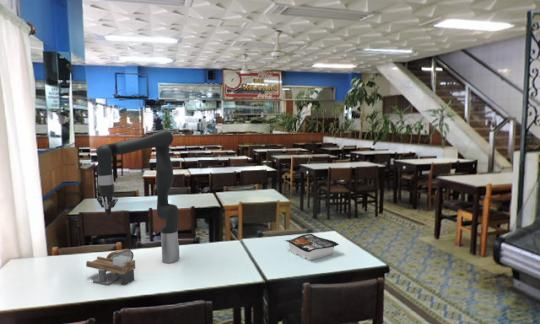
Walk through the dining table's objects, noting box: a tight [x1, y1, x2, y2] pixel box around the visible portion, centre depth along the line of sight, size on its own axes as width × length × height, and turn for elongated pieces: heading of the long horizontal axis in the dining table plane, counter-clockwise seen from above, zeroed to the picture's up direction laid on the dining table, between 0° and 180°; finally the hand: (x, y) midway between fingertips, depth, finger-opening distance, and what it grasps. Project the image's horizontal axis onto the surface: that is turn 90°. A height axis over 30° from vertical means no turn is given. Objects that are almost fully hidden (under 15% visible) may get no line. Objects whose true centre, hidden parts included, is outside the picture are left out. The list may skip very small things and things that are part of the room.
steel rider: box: [113, 255, 131, 268], centre depth 192 cm, size 5×7×5 cm
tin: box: [106, 248, 135, 261], centre depth 214 cm, size 15×3×8 cm, turn 135°
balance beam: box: [85, 256, 136, 275], centre depth 195 cm, size 8×25×6 cm, turn 67°
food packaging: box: [283, 233, 340, 261], centre depth 230 cm, size 25×8×23 cm
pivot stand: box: [92, 269, 135, 287], centre depth 194 cm, size 14×18×7 cm
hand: (108, 215), depth 202 cm, fingers closed
